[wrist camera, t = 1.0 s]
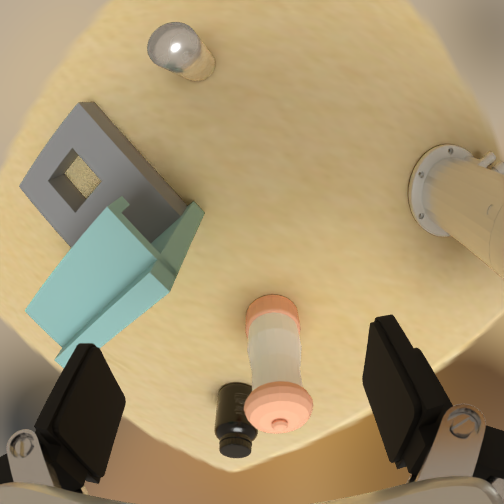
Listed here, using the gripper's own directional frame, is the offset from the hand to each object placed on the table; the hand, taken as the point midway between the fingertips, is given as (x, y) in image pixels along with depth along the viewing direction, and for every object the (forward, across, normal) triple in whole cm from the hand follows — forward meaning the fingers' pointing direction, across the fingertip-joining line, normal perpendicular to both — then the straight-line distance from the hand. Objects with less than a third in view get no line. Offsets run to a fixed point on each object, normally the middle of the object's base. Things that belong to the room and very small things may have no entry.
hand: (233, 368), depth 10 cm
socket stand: (+30, +17, -1) cm, 34 cm away
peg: (+30, +3, -14) cm, 33 cm away
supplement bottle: (+30, +5, +36) cm, 47 cm away
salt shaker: (+29, -2, +19) cm, 35 cm away
